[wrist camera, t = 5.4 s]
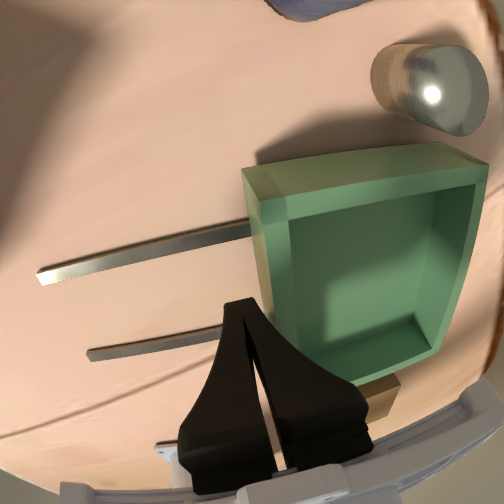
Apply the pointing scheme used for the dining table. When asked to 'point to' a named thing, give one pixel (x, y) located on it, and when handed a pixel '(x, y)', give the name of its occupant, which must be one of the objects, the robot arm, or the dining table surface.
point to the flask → (311, 8)
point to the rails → (142, 254)
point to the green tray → (365, 251)
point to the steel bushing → (432, 86)
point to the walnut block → (380, 396)
